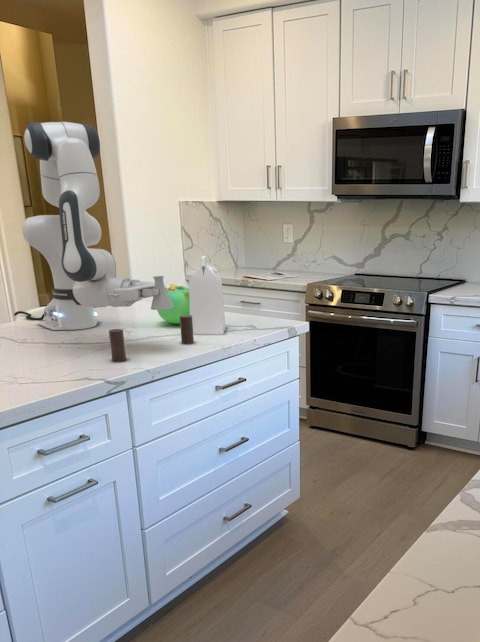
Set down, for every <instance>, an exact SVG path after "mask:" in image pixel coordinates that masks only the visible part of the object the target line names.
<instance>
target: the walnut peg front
mask: <svg viewBox="0 0 480 642" xmlns="http://www.w3.org/2000/svg"><path fill="white" fill-rule="evenodd" d="M108 337H109V346H110V353H111V361H112V362H114V363H115V362H116V363H121V362H126V361H127V354H126V344H125V335H124V330H123V329H121V328H114V329H113V328H112V329H109V330H108Z"/></svg>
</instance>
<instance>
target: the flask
mask: <svg viewBox="0 0 480 642" xmlns="http://www.w3.org/2000/svg"><path fill="white" fill-rule="evenodd" d="M164 278H165V276H164V275H154V276H152V279H154V282H155V289H160V294H159V295H154V296H153V297H152V301H151V306H150V310H152V311H157V310H164V309H171V308H174V305H173V303H172V301H171V299H170V297H169V295H168V293H167V291H166V289H165V287H166V285H165V282H164Z"/></svg>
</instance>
